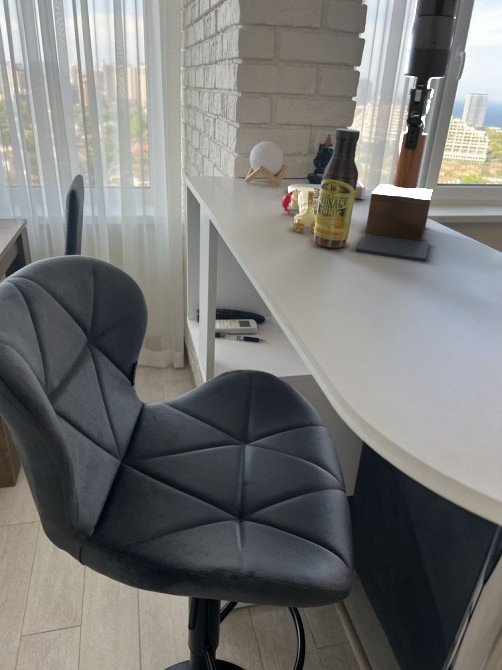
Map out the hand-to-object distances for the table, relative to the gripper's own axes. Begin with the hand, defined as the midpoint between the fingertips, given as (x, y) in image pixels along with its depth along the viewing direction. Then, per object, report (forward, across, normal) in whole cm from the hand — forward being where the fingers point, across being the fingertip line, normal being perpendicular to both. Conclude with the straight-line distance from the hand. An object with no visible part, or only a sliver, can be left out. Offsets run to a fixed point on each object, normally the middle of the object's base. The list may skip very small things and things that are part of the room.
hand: (411, 147), depth 98 cm
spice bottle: (+7, 0, 0) cm, 7 cm away
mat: (+16, -14, -1) cm, 22 cm away
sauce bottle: (+16, -18, +10) cm, 26 cm away
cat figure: (+16, 0, +20) cm, 26 cm away
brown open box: (+16, 0, 0) cm, 16 cm away
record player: (+16, +30, +23) cm, 41 cm away
